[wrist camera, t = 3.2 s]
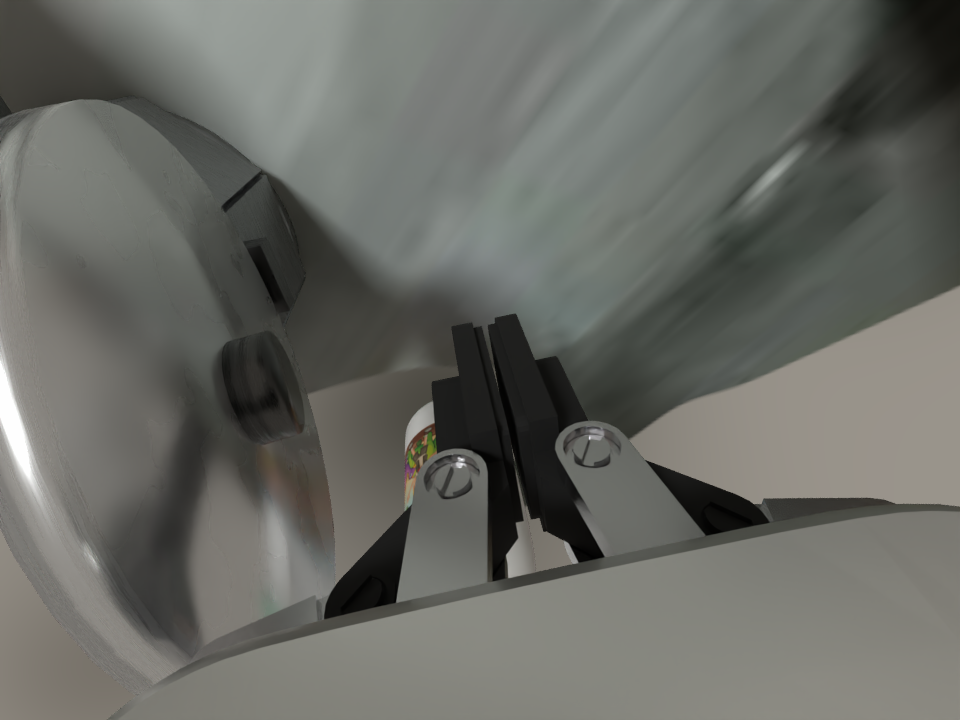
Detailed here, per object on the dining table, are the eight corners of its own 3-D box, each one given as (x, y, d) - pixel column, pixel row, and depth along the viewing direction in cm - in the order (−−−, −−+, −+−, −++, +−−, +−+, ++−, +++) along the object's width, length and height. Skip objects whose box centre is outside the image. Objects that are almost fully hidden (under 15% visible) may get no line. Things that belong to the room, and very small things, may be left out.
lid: (141, 88, 15) (207, 75, 15) (307, 420, 23) (347, 408, 23) (-572, 219, 3) (-184, 145, 3) (306, 811, 11) (388, 774, 11)
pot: (229, -2, 20) (137, -23, 14) (362, 358, 32) (349, 447, 25) (-116, 62, 20) (-390, 75, 13) (142, 402, 32) (67, 505, 25)
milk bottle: (522, 413, 36) (616, 717, 20) (470, 475, 40) (513, 780, 23) (437, 376, 33) (465, 699, 17) (387, 446, 37) (371, 774, 20)
